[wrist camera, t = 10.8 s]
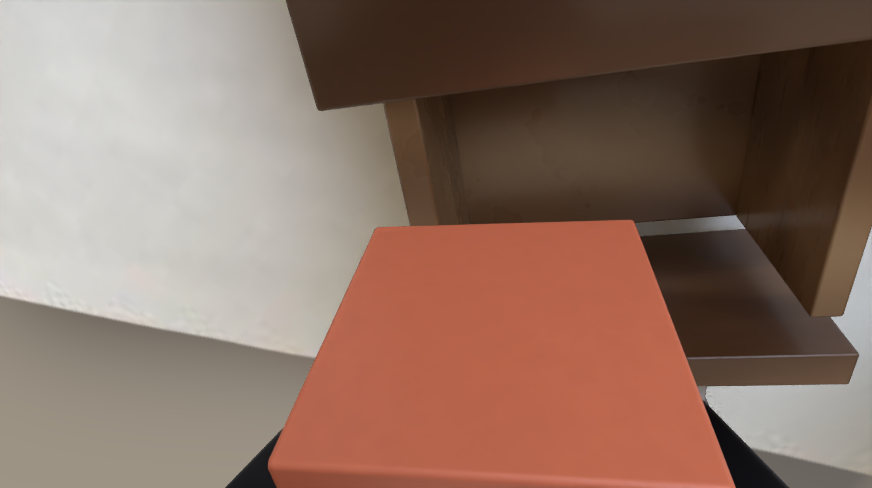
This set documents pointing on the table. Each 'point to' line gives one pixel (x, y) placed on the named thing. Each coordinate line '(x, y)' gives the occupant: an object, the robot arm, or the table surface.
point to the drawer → (682, 190)
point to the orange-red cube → (501, 368)
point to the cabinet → (541, 40)
